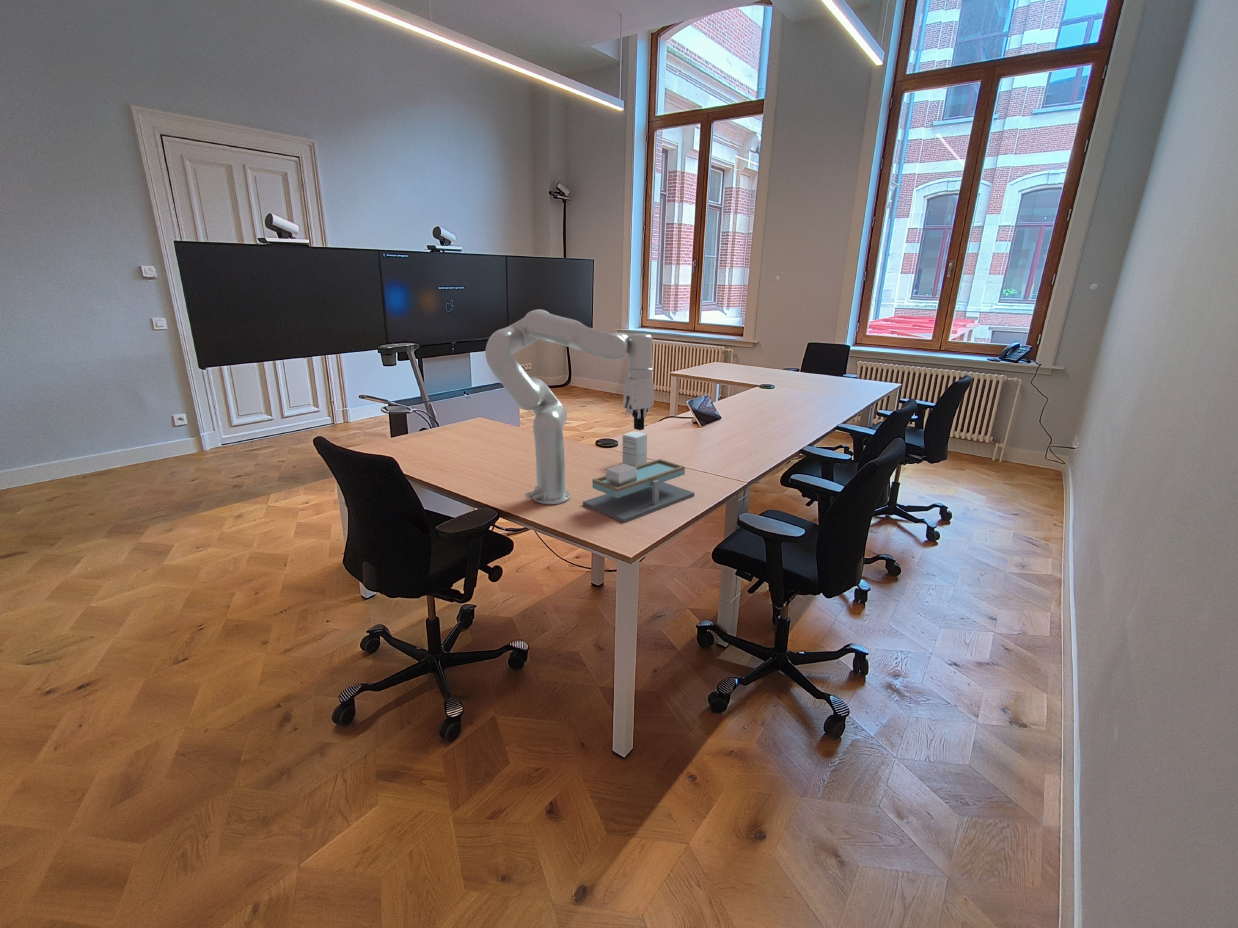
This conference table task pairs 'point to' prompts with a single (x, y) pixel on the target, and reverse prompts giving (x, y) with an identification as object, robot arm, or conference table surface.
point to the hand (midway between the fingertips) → (638, 429)
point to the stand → (638, 501)
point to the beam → (642, 477)
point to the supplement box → (634, 448)
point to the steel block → (621, 475)
